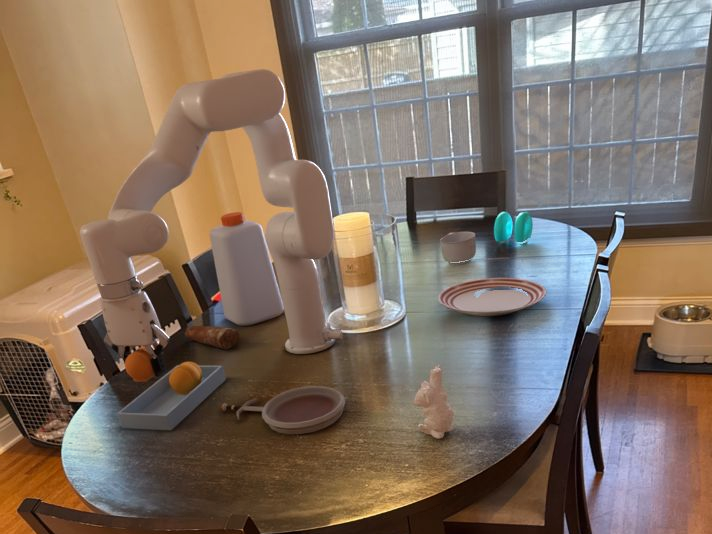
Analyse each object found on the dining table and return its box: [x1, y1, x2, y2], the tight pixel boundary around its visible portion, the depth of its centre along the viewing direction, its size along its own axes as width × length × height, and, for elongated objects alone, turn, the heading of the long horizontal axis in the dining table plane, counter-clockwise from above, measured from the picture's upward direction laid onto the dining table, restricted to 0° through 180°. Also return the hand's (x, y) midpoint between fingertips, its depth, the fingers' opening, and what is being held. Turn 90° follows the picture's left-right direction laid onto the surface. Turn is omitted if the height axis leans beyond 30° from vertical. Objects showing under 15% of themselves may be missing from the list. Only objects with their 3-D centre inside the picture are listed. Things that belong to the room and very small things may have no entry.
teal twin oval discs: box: [493, 211, 534, 246], centre depth 216 cm, size 10×10×10 cm
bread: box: [184, 325, 241, 350], centre depth 176 cm, size 6×19×6 cm, turn 47°
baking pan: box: [116, 364, 227, 431], centre depth 148 cm, size 12×24×4 cm, turn 162°
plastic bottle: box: [209, 211, 284, 327], centre depth 185 cm, size 15×15×28 cm
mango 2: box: [169, 361, 202, 395], centre depth 152 cm, size 6×9×6 cm, turn 162°
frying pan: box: [220, 385, 346, 435], centre depth 136 cm, size 17×3×28 cm
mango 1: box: [124, 345, 155, 383], centre depth 138 cm, size 6×9×6 cm, turn 161°
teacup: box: [439, 231, 477, 266], centre depth 209 cm, size 14×11×8 cm
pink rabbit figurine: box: [412, 365, 455, 440], centre depth 118 cm, size 8×7×12 cm
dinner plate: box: [437, 277, 547, 317], centre depth 173 cm, size 28×27×3 cm
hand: (147, 373), depth 139 cm, fingers closed on mango 1, 5 cm apart
